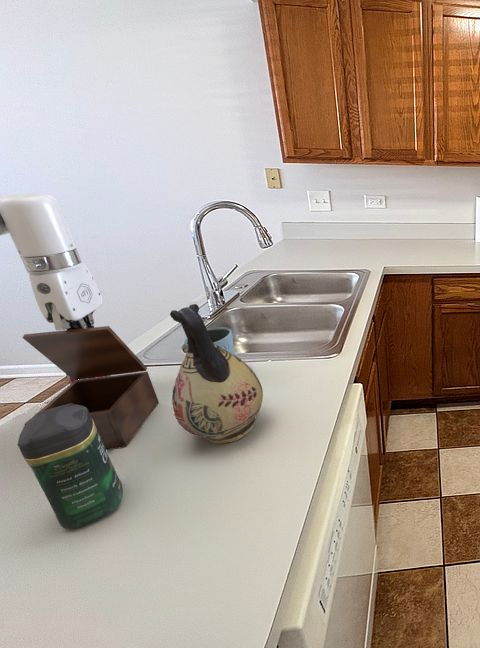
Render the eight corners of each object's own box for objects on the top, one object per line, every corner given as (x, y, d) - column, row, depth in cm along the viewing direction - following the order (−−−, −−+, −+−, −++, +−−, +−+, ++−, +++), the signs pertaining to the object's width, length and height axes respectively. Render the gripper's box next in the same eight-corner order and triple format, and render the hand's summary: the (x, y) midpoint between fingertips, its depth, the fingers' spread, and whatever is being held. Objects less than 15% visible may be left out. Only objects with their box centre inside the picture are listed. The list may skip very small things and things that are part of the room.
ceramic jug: (178, 430, 85) (131, 302, 73) (256, 398, 95) (225, 281, 83) (197, 474, 74) (145, 332, 62) (283, 433, 84) (251, 304, 72)
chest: (126, 446, 80) (110, 411, 77) (43, 460, 77) (23, 424, 74) (159, 403, 93) (147, 371, 90) (90, 412, 90) (75, 380, 87)
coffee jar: (125, 511, 67) (83, 422, 60) (59, 539, 62) (5, 447, 55) (124, 475, 73) (87, 392, 66) (65, 499, 69) (18, 412, 62)
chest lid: (107, 329, 78) (108, 325, 79) (21, 337, 75) (24, 334, 76) (146, 371, 89) (147, 367, 90) (73, 380, 86) (75, 376, 87)
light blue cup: (212, 391, 97) (199, 349, 93) (188, 381, 101) (174, 340, 97) (250, 371, 106) (240, 331, 101) (226, 362, 110) (215, 323, 105)
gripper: (49, 271, 70) (88, 360, 77) (99, 249, 83) (129, 327, 90) (-5, 275, 68) (41, 366, 75) (55, 251, 81) (89, 331, 88)
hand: (89, 344), depth 82 cm, fingers closed
